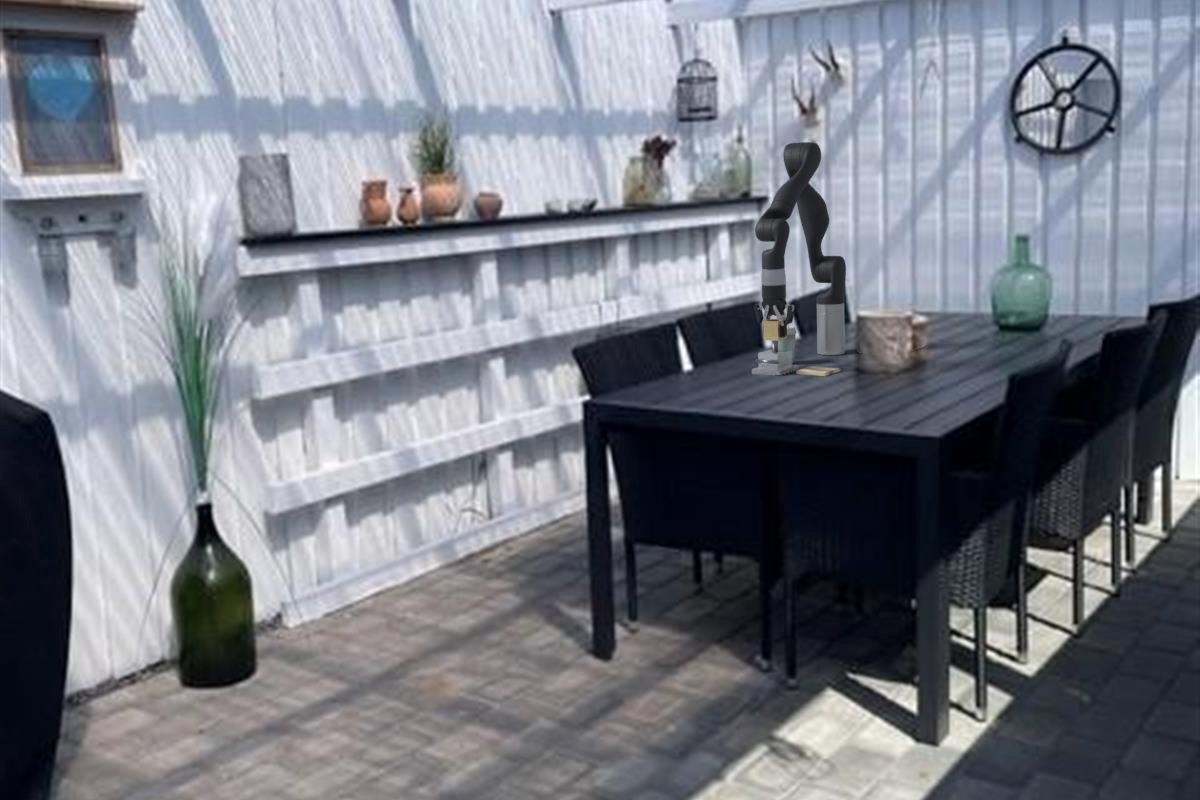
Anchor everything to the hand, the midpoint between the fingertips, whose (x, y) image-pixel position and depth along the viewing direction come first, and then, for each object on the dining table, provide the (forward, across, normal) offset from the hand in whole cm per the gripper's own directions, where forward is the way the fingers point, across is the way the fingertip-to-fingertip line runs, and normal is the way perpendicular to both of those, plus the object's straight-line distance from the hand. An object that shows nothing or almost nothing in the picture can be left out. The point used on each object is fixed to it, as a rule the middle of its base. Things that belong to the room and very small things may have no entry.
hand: (774, 336), depth 404 cm
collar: (+1, 0, 0) cm, 1 cm away
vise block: (+11, 0, 0) cm, 11 cm away
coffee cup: (+12, +6, -16) cm, 20 cm away
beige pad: (+11, -13, -4) cm, 18 cm away
